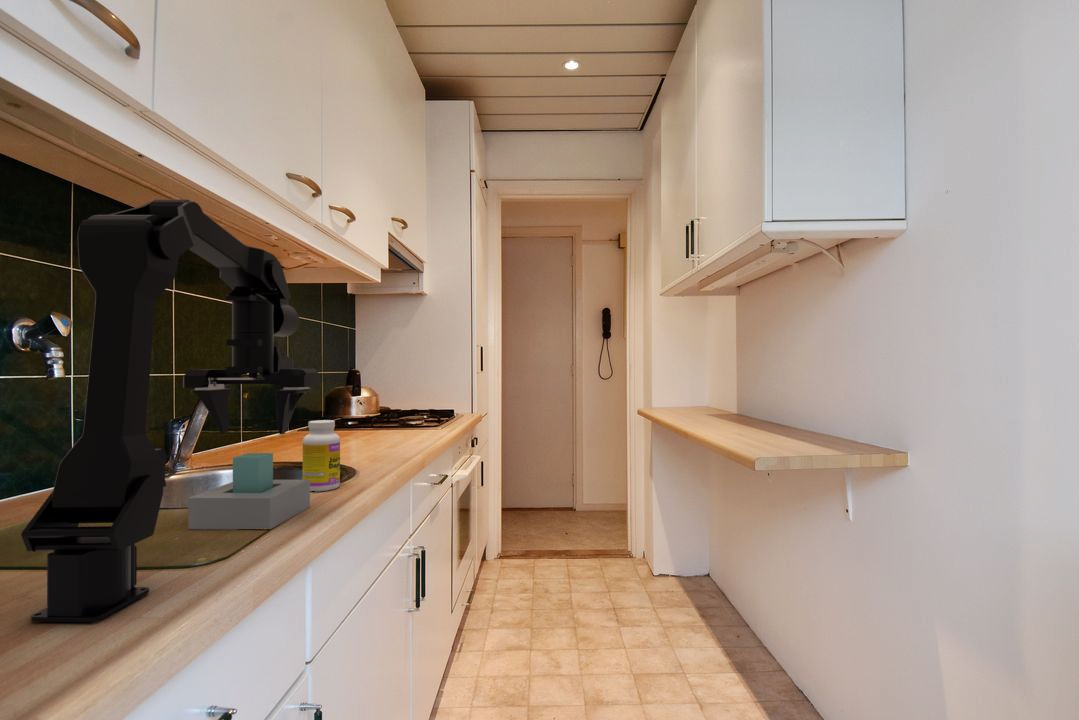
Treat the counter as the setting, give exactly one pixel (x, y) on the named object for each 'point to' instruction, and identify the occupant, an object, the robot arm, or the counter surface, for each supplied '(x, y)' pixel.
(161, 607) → the counter surface
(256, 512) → the well block
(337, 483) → the supplement bottle
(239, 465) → the teal block
